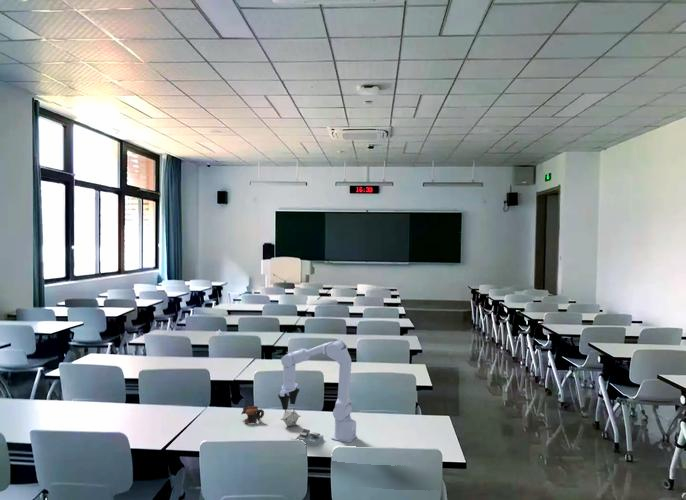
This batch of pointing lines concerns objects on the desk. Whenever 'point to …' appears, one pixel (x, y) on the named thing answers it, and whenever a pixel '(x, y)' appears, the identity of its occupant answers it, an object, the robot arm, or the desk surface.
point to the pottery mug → (252, 414)
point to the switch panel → (311, 439)
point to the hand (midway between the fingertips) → (288, 406)
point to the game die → (290, 417)
